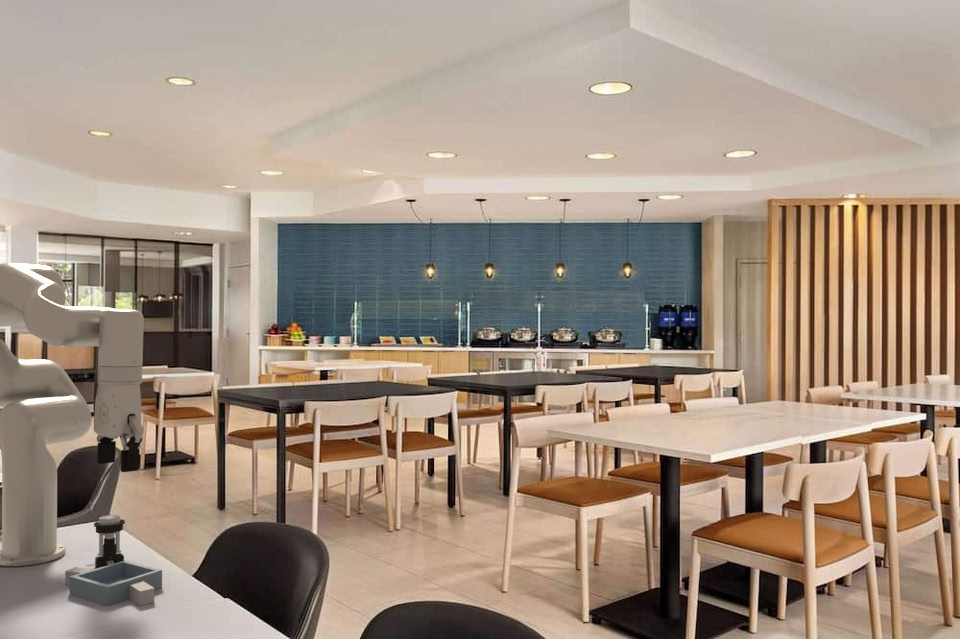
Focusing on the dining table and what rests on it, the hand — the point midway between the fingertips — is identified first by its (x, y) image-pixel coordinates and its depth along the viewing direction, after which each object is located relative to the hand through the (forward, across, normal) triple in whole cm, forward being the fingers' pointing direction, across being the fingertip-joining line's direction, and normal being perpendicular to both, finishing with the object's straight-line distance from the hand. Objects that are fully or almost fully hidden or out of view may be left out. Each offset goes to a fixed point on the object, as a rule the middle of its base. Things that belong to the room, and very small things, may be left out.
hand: (117, 466), depth 146 cm
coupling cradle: (+20, +9, -4) cm, 22 cm away
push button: (+20, -4, 0) cm, 21 cm away
